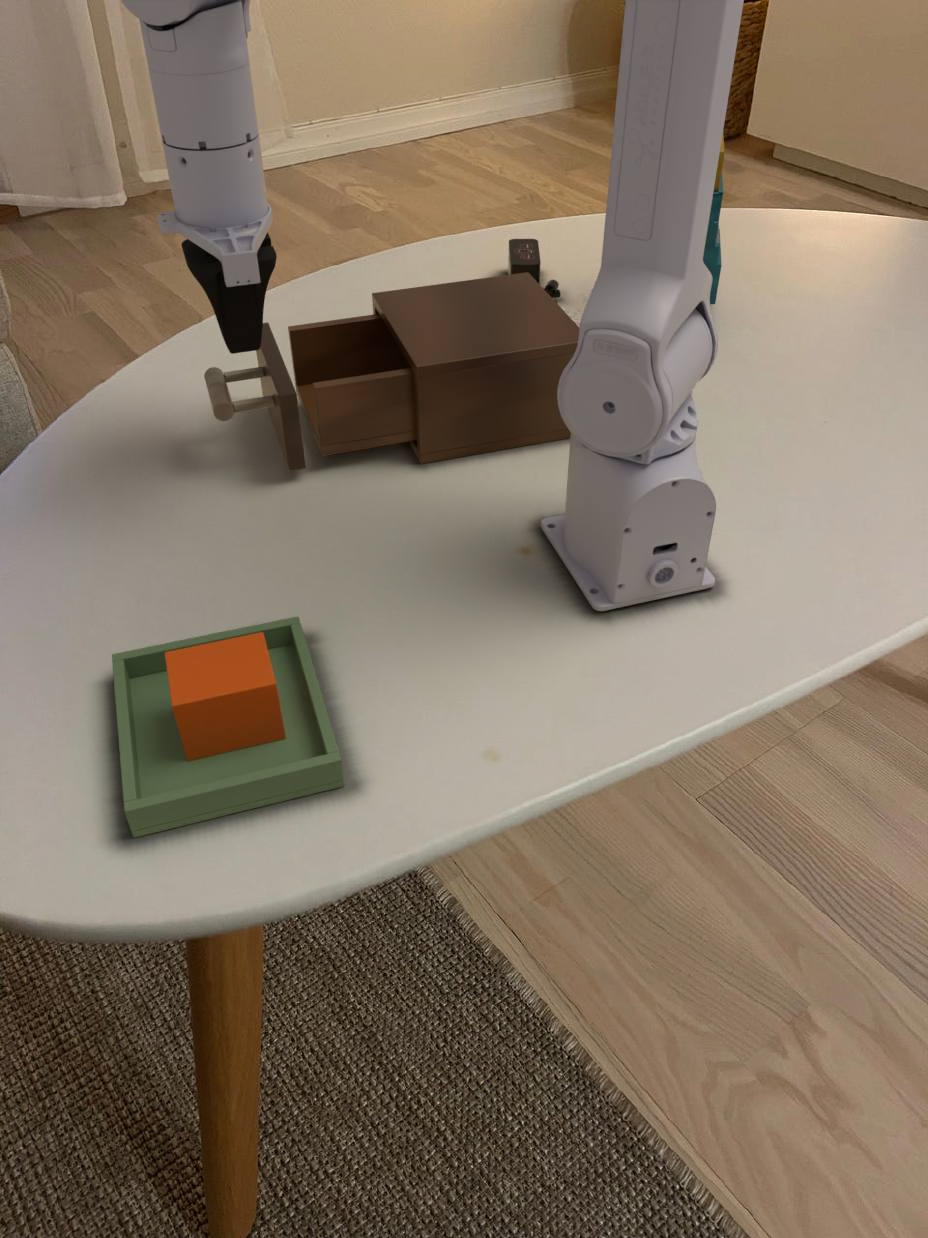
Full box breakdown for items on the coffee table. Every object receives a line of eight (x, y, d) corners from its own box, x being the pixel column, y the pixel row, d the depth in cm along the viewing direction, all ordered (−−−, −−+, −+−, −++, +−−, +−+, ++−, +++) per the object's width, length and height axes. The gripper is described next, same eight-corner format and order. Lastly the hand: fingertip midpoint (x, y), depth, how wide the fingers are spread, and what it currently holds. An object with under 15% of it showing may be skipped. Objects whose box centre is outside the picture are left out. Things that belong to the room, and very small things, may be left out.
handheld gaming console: (663, 292, 95) (685, 118, 85) (708, 294, 94) (736, 121, 84) (661, 338, 87) (685, 154, 78) (709, 341, 87) (739, 157, 77)
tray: (345, 786, 50) (341, 759, 49) (133, 838, 48) (124, 811, 47) (302, 641, 58) (298, 615, 57) (119, 680, 56) (111, 653, 55)
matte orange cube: (286, 739, 52) (276, 683, 49) (187, 762, 51) (171, 706, 48) (273, 686, 55) (263, 631, 52) (179, 707, 54) (164, 651, 51)
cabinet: (420, 464, 72) (416, 366, 68) (377, 383, 82) (371, 292, 77) (583, 435, 75) (591, 339, 70) (524, 361, 84) (528, 271, 79)
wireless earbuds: (509, 302, 93) (510, 268, 91) (507, 271, 99) (508, 238, 96) (560, 302, 93) (562, 267, 91) (555, 271, 98) (557, 238, 96)
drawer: (228, 481, 69) (214, 406, 66) (208, 403, 78) (194, 332, 74) (447, 444, 73) (446, 370, 69) (406, 372, 81) (402, 303, 77)
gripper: (133, 110, 65) (174, 312, 74) (152, 180, 55) (196, 406, 63) (243, 100, 67) (270, 299, 75) (282, 167, 56) (308, 389, 65)
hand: (243, 347), depth 70 cm, fingers closed
